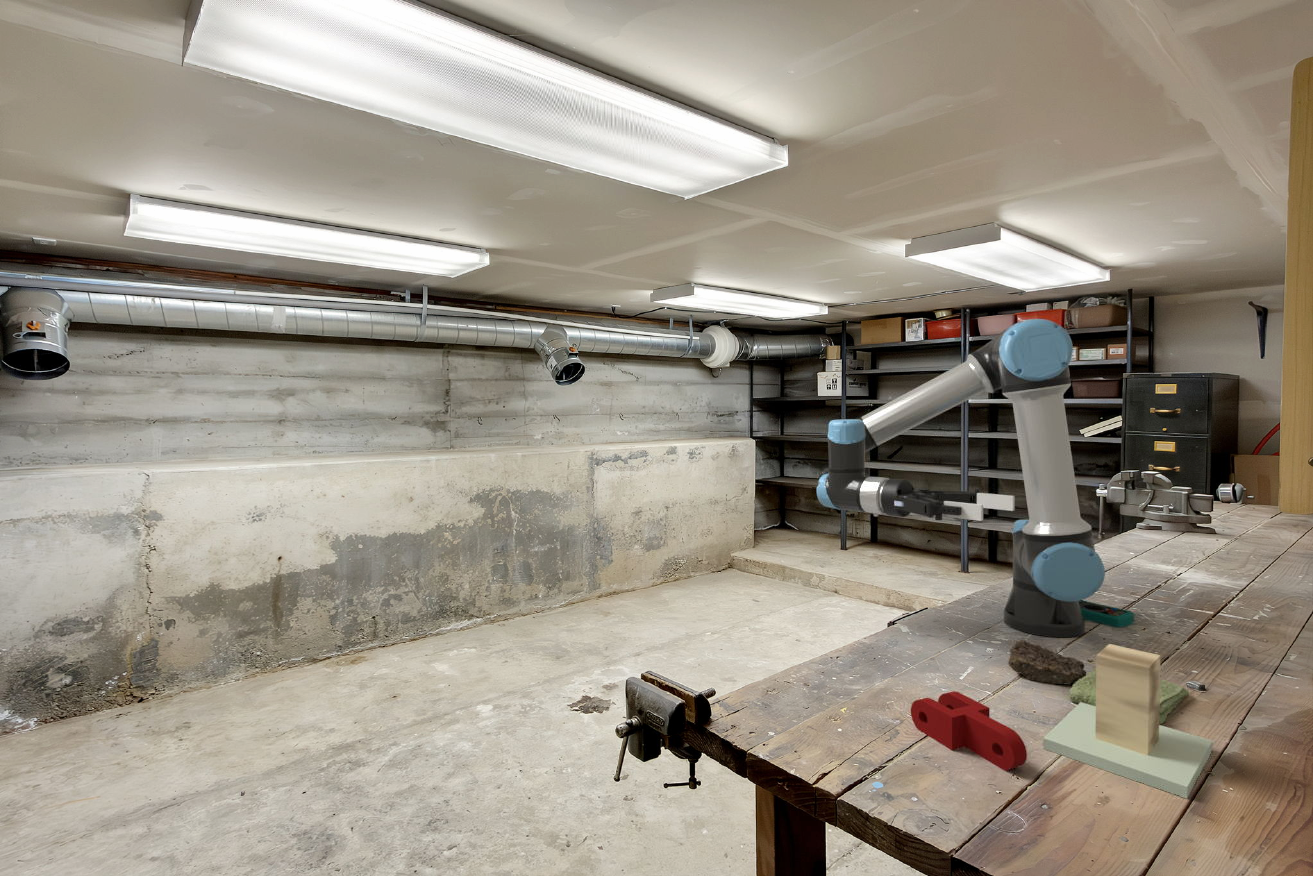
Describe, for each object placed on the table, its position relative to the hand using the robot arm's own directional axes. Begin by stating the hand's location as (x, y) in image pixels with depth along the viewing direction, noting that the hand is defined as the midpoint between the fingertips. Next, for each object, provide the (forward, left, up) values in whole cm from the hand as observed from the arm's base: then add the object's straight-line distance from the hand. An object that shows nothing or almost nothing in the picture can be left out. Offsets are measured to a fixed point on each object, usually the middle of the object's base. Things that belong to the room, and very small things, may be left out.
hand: (998, 507), depth 116 cm
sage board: (+14, +23, -30) cm, 40 cm away
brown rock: (-5, +6, -30) cm, 31 cm away
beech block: (+14, +23, -29) cm, 39 cm away
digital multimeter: (-46, +2, -31) cm, 55 cm away
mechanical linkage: (+28, +7, -31) cm, 42 cm away
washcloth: (-4, +18, -31) cm, 36 cm away
